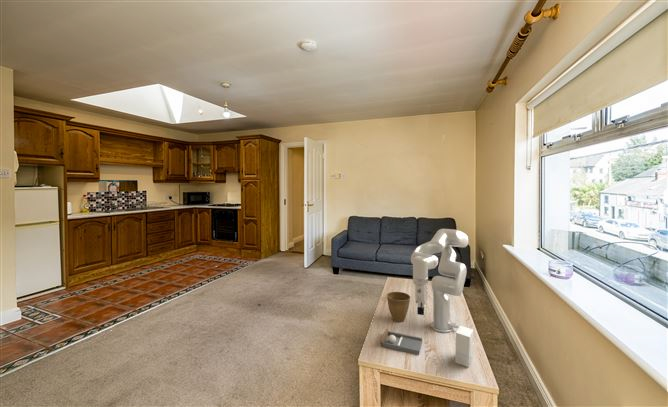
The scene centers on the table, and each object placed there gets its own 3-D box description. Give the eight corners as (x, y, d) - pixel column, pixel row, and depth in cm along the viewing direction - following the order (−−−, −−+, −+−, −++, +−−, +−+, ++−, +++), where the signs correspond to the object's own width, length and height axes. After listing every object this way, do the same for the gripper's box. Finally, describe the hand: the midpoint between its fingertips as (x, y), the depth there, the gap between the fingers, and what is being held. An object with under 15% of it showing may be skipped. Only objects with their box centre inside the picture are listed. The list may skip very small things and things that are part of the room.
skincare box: (459, 354, 138) (459, 325, 137) (473, 359, 134) (473, 329, 133) (454, 363, 132) (454, 331, 131) (469, 368, 127) (469, 336, 127)
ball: (393, 342, 152) (398, 338, 150) (391, 345, 148) (396, 341, 147) (388, 336, 153) (393, 332, 151) (386, 339, 149) (391, 335, 148)
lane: (422, 341, 150) (422, 335, 150) (419, 355, 138) (419, 348, 138) (386, 334, 158) (386, 328, 158) (380, 346, 147) (380, 339, 146)
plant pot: (411, 326, 167) (411, 301, 166) (386, 324, 170) (386, 299, 169) (409, 315, 182) (409, 292, 181) (387, 313, 185) (386, 290, 184)
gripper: (426, 286, 134) (426, 322, 135) (429, 276, 147) (429, 309, 149) (410, 284, 137) (411, 319, 138) (415, 275, 151) (415, 307, 152)
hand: (420, 314), depth 143 cm, fingers closed
